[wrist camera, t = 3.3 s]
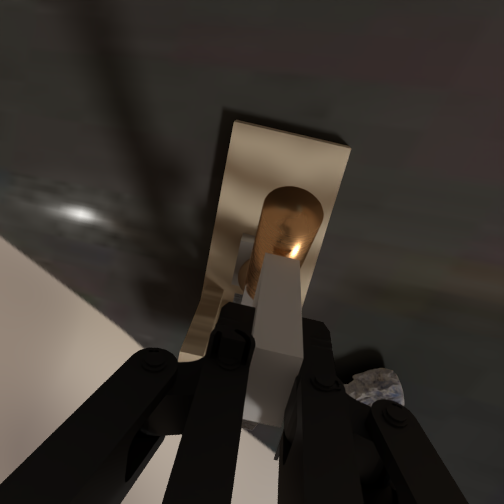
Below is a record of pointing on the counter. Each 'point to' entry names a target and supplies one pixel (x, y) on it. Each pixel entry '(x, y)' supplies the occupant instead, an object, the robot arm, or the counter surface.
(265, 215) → the lever
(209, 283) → the tan angle plate
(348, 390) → the rock
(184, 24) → the counter surface
